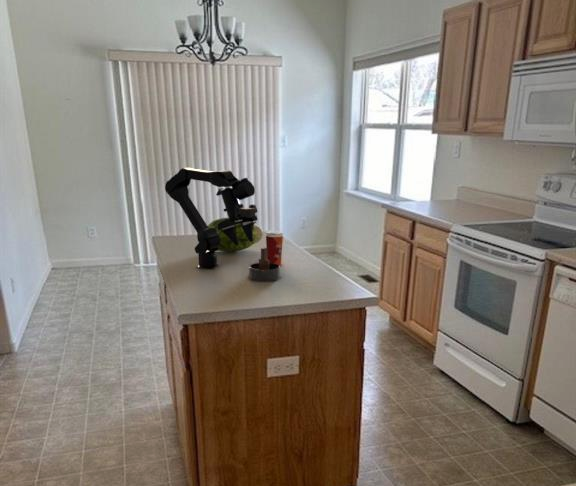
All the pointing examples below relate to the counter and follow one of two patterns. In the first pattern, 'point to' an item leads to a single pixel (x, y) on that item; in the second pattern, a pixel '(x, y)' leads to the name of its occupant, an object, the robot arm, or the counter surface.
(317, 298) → the counter surface
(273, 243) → the paper cup
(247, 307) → the counter surface
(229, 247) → the lettuce
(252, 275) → the tub
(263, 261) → the brown stepped tower
